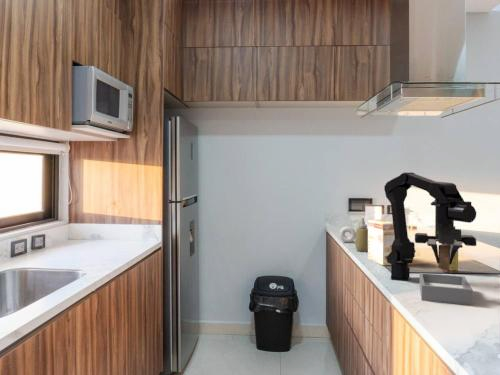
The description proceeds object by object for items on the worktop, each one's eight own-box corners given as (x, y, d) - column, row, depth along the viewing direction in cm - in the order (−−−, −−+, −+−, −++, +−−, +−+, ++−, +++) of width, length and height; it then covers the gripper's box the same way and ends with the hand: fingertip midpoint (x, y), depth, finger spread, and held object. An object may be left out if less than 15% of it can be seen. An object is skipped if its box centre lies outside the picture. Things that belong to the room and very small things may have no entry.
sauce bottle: (443, 269, 169) (444, 224, 168) (459, 271, 165) (459, 225, 164) (439, 272, 164) (440, 226, 163) (456, 274, 160) (456, 227, 159)
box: (421, 300, 129) (421, 285, 129) (419, 286, 145) (419, 272, 145) (472, 305, 124) (472, 290, 124) (464, 290, 140) (464, 276, 139)
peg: (438, 269, 133) (439, 246, 133) (438, 266, 136) (438, 244, 136) (450, 269, 132) (450, 246, 132) (449, 267, 135) (449, 244, 135)
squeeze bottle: (354, 251, 208) (354, 218, 207) (355, 249, 216) (355, 217, 215) (369, 252, 205) (369, 219, 204) (370, 249, 213) (370, 217, 212)
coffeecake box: (396, 265, 178) (396, 223, 177) (382, 265, 177) (382, 223, 176) (380, 258, 193) (380, 219, 192) (367, 258, 191) (367, 219, 191)
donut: (355, 242, 236) (355, 226, 235) (355, 243, 233) (355, 226, 232) (339, 241, 238) (339, 225, 238) (339, 242, 235) (338, 226, 235)
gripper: (416, 221, 129) (415, 267, 130) (479, 223, 123) (479, 271, 123) (414, 217, 140) (414, 259, 140) (473, 219, 133) (473, 263, 134)
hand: (444, 263), depth 134 cm, fingers closed on peg, 3 cm apart
